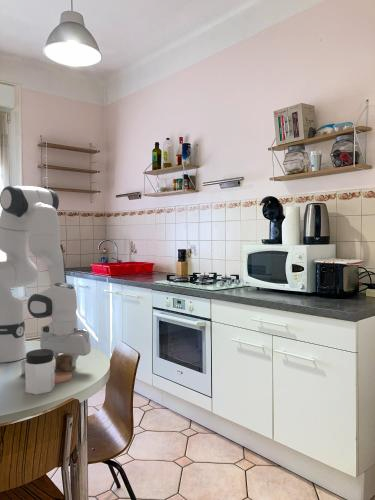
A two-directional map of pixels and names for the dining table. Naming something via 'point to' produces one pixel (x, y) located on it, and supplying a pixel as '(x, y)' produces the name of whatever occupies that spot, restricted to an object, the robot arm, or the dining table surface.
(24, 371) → the tin
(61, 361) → the walnut block
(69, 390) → the dining table surface
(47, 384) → the jar
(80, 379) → the dining table surface
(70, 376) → the pink glossy round part
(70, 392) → the dining table surface
